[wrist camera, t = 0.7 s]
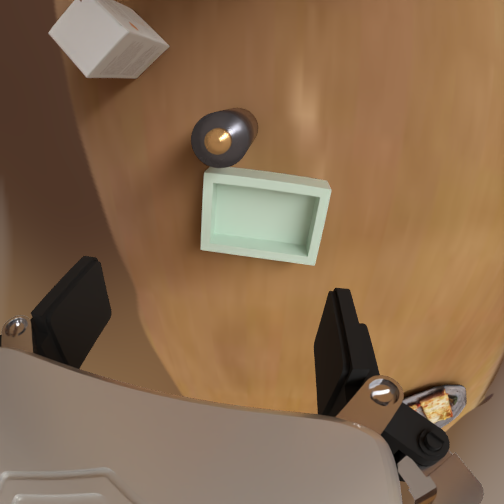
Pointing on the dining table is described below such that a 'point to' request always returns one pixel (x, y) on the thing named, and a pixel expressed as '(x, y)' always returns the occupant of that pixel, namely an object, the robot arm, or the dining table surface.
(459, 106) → the dining table surface
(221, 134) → the cylinder
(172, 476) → the robot arm
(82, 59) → the small box
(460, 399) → the food plate
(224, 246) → the trough
